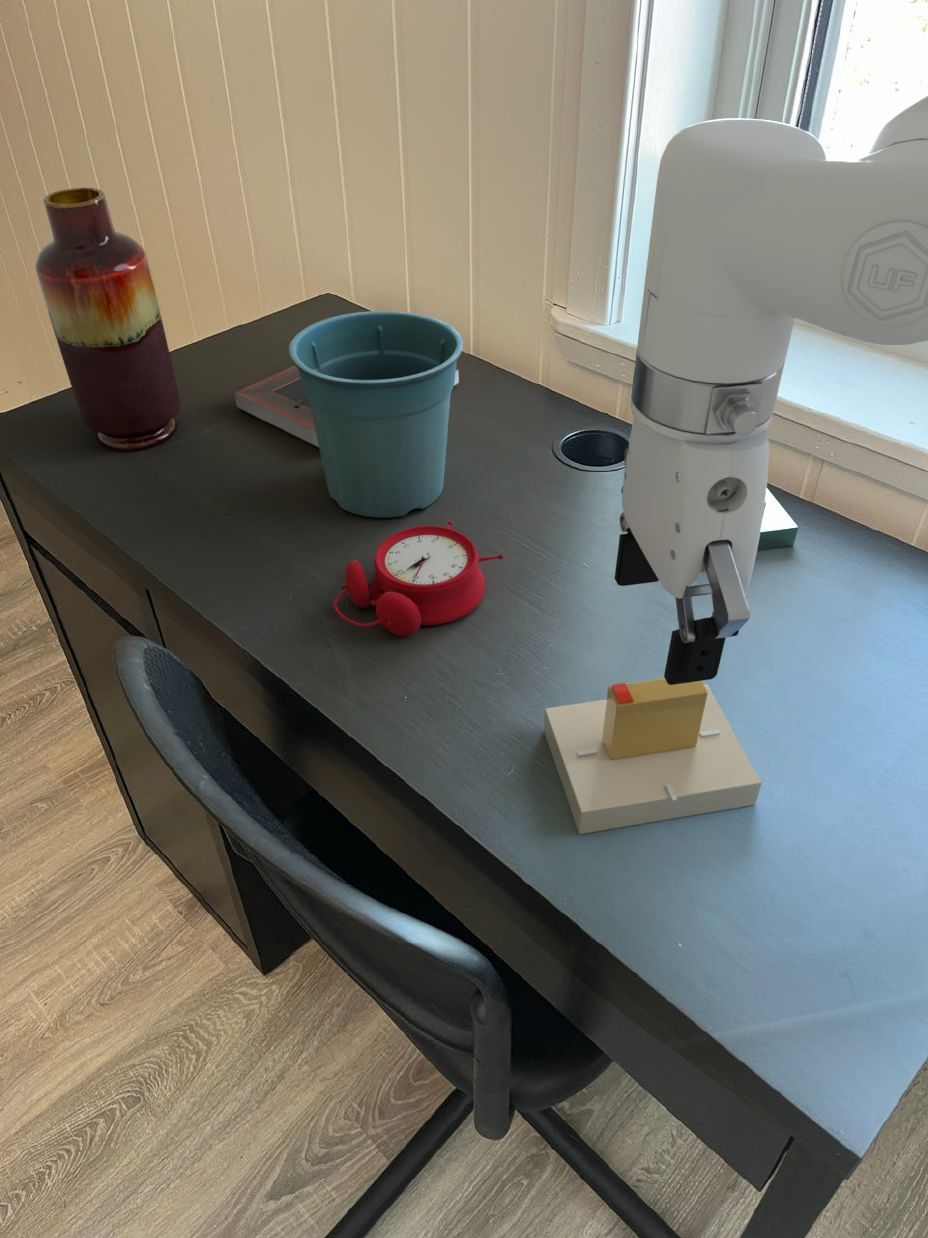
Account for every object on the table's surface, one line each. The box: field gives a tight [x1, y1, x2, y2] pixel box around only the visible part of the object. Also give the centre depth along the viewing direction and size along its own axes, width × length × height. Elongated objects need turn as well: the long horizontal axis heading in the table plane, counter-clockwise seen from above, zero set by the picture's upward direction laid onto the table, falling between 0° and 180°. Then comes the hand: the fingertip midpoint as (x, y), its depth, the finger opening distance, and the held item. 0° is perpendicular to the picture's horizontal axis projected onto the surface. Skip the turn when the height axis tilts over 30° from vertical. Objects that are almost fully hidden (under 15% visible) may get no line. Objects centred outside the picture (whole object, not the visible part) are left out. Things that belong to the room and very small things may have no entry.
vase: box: [34, 187, 181, 452], centre depth 101 cm, size 11×11×26 cm
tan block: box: [602, 677, 708, 760], centre depth 67 cm, size 6×2×6 cm, turn 101°
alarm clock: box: [333, 520, 504, 637], centre depth 84 cm, size 10×6×15 cm
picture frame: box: [233, 364, 460, 448], centre depth 114 cm, size 16×2×22 cm
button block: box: [757, 488, 799, 551], centre depth 92 cm, size 10×9×4 cm
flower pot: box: [288, 310, 464, 519], centre depth 95 cm, size 16×16×16 cm
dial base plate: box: [543, 684, 762, 835], centre depth 69 cm, size 13×11×3 cm
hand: (662, 627), depth 61 cm, fingers open, 9 cm apart
